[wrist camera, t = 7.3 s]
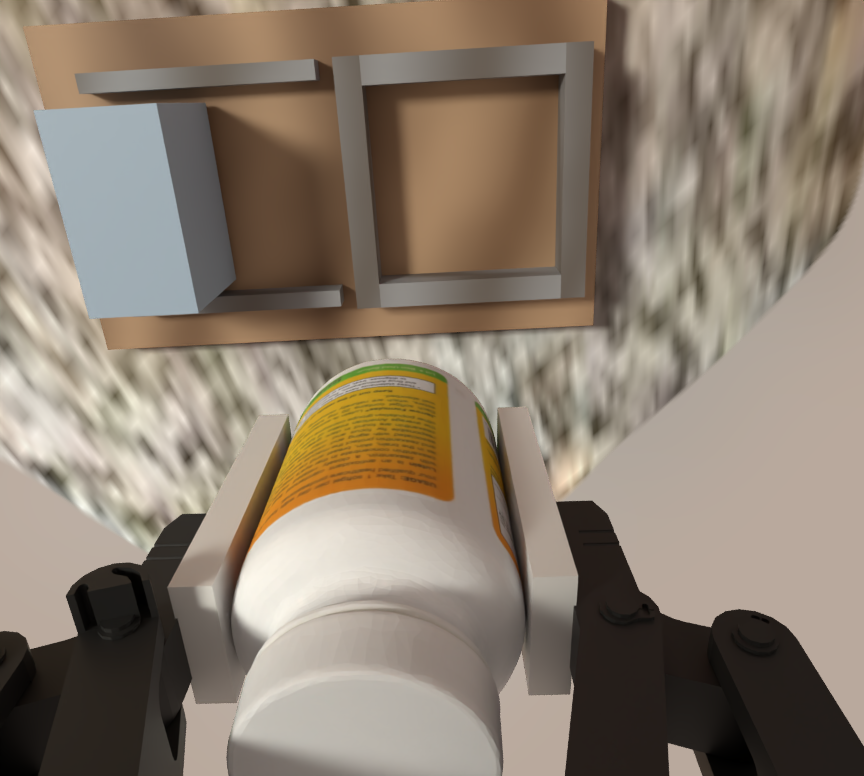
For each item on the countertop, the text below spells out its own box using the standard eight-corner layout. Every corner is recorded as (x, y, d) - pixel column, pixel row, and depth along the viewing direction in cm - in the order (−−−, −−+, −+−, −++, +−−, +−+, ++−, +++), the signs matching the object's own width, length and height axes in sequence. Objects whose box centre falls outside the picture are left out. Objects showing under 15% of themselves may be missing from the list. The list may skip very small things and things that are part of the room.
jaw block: (144, 284, 29) (89, 318, 24) (104, 108, 26) (33, 110, 21) (236, 279, 29) (198, 313, 24) (205, 102, 26) (156, 103, 21)
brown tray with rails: (119, 340, 31) (92, 361, 29) (40, 29, 26) (-1, 22, 24) (587, 317, 31) (600, 336, 28) (600, -6, 26) (617, -17, 23)
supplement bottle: (259, 453, 18) (99, 789, 10) (382, 311, 17) (327, 559, 8) (407, 556, 20) (389, 931, 11) (534, 436, 18) (633, 763, 9)
